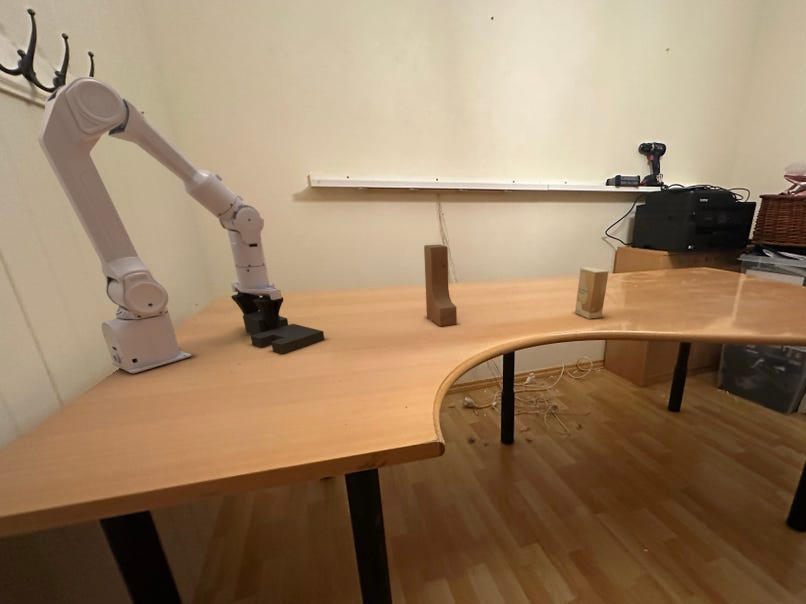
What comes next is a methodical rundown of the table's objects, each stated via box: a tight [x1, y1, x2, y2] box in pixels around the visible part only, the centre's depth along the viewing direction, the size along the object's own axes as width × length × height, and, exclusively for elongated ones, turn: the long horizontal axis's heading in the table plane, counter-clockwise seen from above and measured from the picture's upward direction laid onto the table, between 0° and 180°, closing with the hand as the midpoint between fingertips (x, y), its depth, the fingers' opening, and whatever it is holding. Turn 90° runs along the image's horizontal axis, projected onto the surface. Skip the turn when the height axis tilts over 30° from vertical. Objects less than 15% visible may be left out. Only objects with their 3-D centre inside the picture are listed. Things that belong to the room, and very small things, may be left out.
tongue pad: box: [242, 311, 289, 335], centre depth 90 cm, size 8×6×4 cm
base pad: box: [250, 323, 325, 355], centre depth 84 cm, size 10×10×2 cm
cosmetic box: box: [574, 266, 609, 320], centre depth 104 cm, size 6×4×12 cm
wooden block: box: [423, 244, 458, 327], centre depth 97 cm, size 9×4×18 cm, turn 28°
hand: (263, 326), depth 89 cm, fingers open, 6 cm apart
